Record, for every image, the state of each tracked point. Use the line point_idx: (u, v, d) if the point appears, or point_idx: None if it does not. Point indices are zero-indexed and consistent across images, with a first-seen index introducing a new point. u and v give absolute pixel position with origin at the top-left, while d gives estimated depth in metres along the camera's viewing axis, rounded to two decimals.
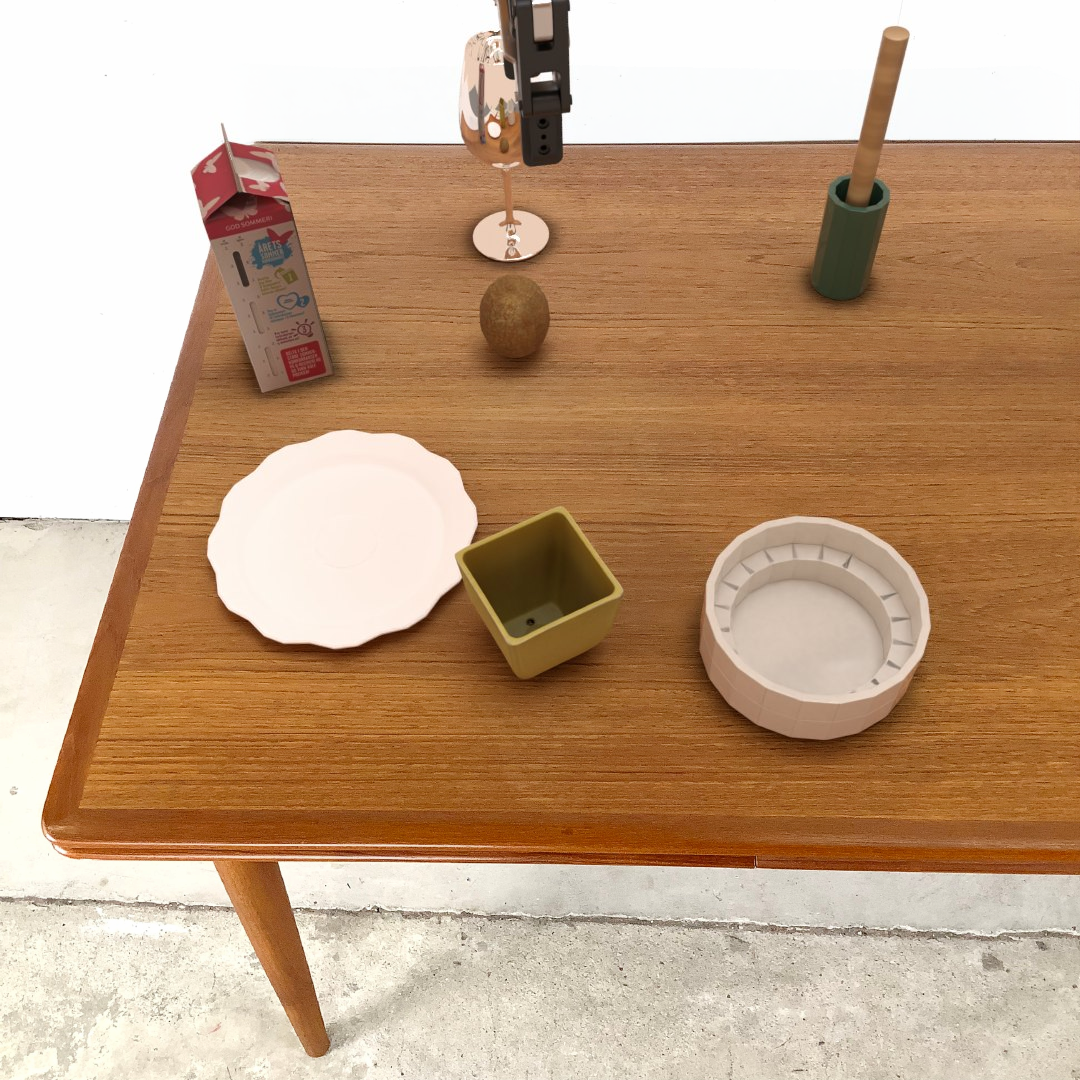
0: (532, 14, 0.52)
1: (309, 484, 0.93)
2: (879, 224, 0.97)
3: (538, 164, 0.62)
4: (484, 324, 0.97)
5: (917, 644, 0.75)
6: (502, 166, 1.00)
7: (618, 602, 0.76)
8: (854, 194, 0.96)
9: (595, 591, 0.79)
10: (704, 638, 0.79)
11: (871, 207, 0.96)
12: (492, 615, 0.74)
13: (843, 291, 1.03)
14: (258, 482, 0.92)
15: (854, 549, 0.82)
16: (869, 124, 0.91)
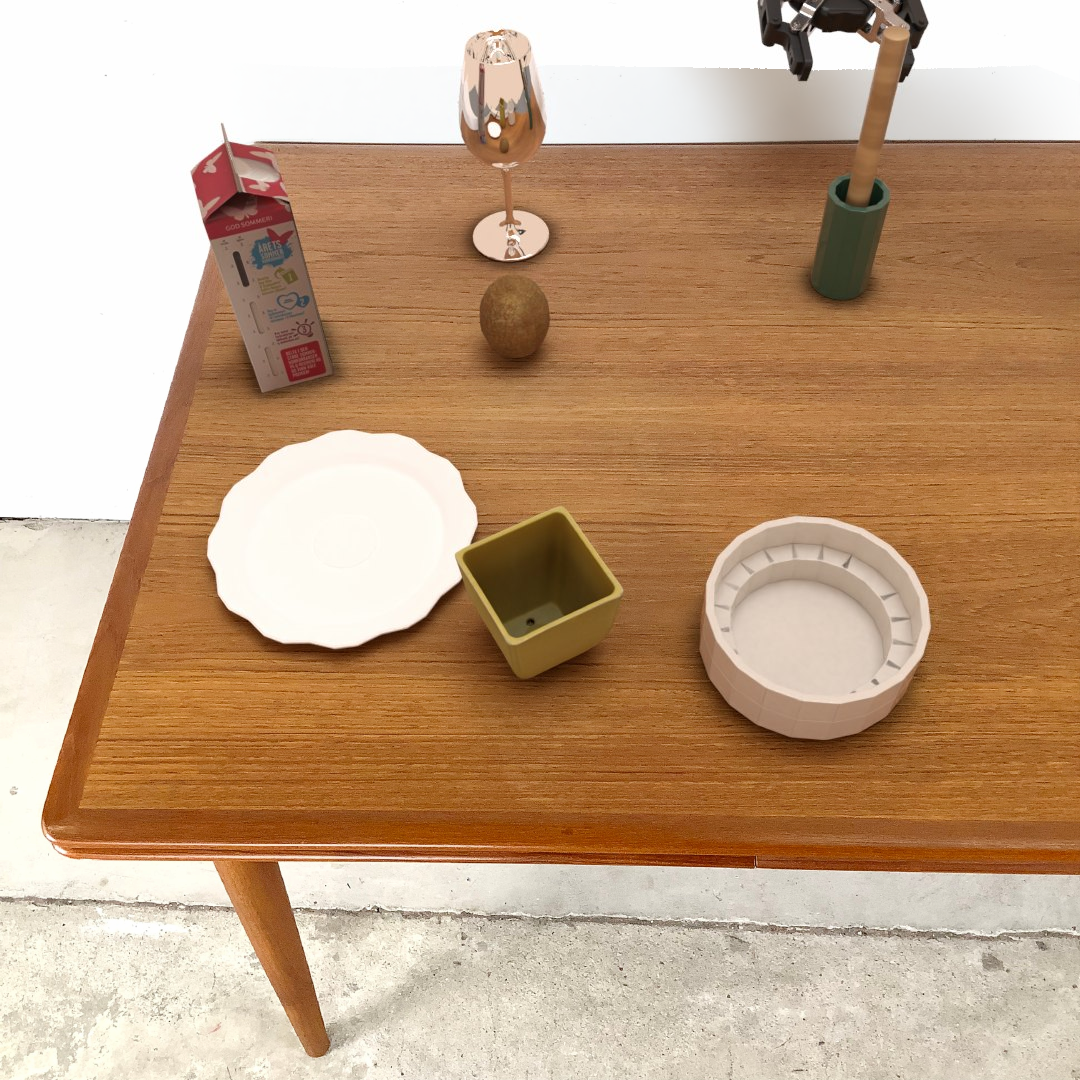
0: None
1: (309, 484, 0.93)
2: (879, 224, 0.97)
3: (802, 76, 0.96)
4: (484, 324, 0.97)
5: (917, 644, 0.75)
6: (502, 166, 1.00)
7: (618, 602, 0.76)
8: (854, 194, 0.96)
9: (595, 591, 0.79)
10: (704, 638, 0.79)
11: (871, 207, 0.96)
12: (492, 615, 0.74)
13: (843, 291, 1.03)
14: (258, 482, 0.92)
15: (854, 549, 0.82)
16: (869, 124, 0.91)
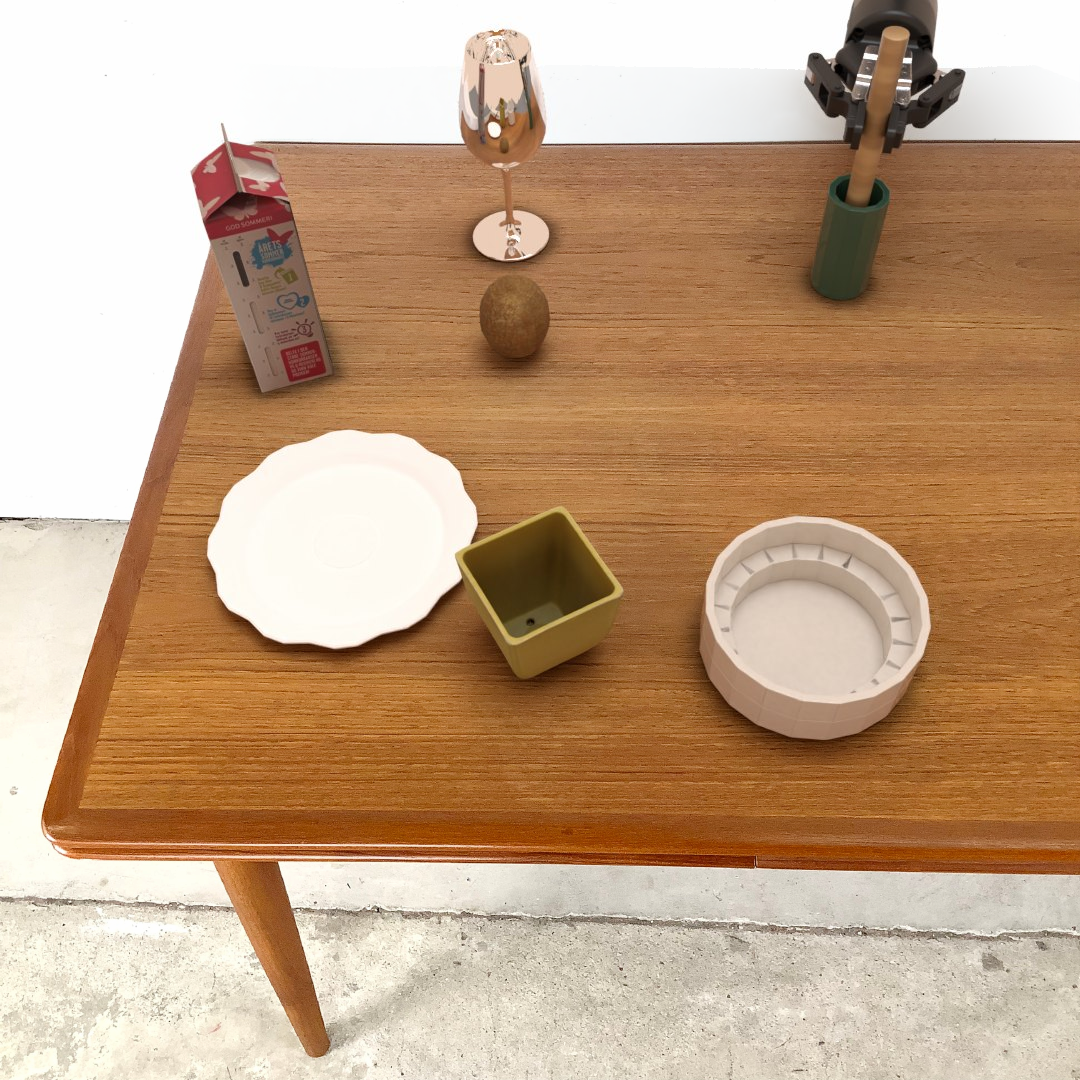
0: (806, 75, 0.96)
1: (309, 484, 0.93)
2: (879, 224, 0.97)
3: (852, 142, 0.90)
4: (484, 324, 0.97)
5: (917, 644, 0.75)
6: (502, 166, 1.00)
7: (618, 602, 0.76)
8: (854, 194, 0.96)
9: (595, 591, 0.79)
10: (704, 638, 0.79)
11: (871, 207, 0.96)
12: (492, 615, 0.74)
13: (843, 291, 1.03)
14: (258, 482, 0.92)
15: (854, 549, 0.82)
16: (869, 124, 0.91)
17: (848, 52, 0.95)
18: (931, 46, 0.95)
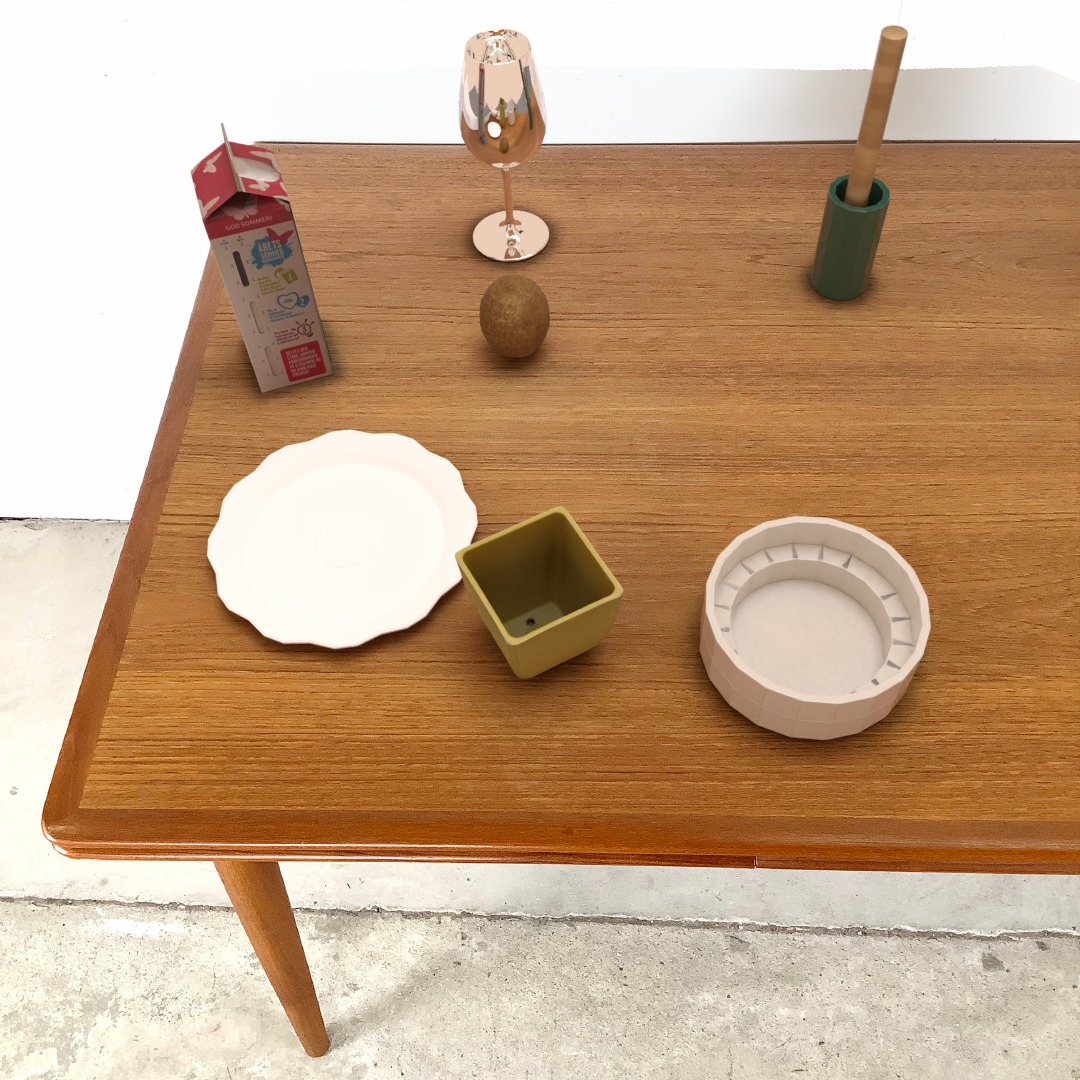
0: None
1: (309, 484, 0.93)
2: (879, 224, 0.97)
3: None
4: (484, 324, 0.97)
5: (917, 644, 0.75)
6: (502, 166, 1.00)
7: (618, 602, 0.76)
8: (852, 193, 0.96)
9: (595, 591, 0.79)
10: (704, 638, 0.79)
11: (871, 207, 0.96)
12: (492, 615, 0.74)
13: (843, 291, 1.03)
14: (258, 482, 0.92)
15: (854, 549, 0.82)
16: (868, 123, 0.91)
17: None
18: None
